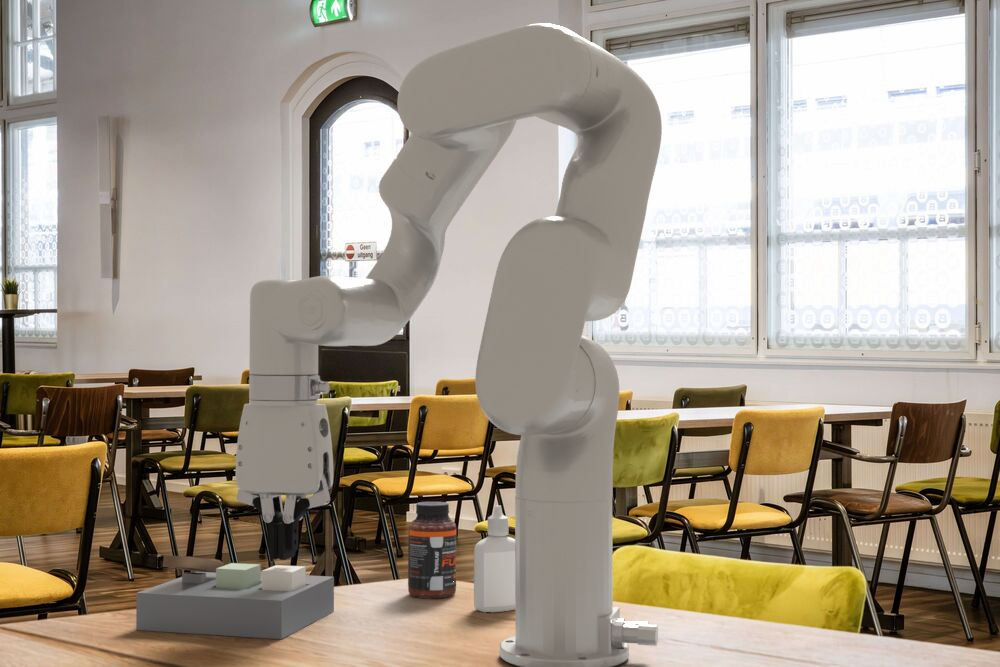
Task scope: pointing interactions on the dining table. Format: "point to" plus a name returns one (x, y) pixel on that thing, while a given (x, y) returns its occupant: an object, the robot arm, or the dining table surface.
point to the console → (232, 607)
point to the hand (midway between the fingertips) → (282, 557)
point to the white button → (284, 578)
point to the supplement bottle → (432, 552)
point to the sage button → (238, 576)
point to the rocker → (192, 563)
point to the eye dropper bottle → (495, 567)
